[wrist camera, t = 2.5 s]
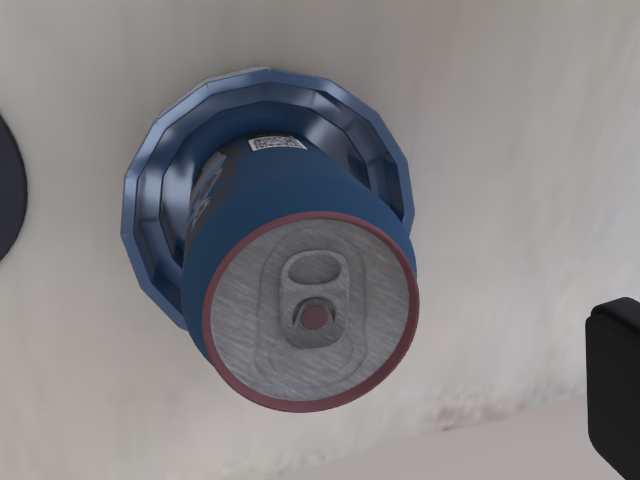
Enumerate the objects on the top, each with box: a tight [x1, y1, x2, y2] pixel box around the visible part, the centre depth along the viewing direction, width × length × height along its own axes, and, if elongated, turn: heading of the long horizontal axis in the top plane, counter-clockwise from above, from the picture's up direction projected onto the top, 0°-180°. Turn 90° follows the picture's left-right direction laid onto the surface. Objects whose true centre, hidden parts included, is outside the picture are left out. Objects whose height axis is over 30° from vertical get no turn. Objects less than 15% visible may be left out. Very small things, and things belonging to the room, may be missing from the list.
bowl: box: [120, 66, 415, 332], centre depth 23 cm, size 12×12×4 cm
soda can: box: [181, 130, 420, 413], centre depth 19 cm, size 7×7×12 cm
